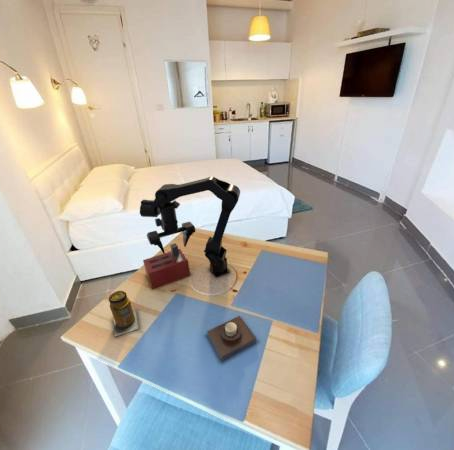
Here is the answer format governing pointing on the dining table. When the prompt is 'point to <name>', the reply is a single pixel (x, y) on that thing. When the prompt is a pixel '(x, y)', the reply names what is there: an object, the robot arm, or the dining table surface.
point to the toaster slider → (174, 249)
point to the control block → (231, 338)
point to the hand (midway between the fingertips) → (174, 249)
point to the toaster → (166, 268)
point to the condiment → (122, 313)
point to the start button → (230, 329)
